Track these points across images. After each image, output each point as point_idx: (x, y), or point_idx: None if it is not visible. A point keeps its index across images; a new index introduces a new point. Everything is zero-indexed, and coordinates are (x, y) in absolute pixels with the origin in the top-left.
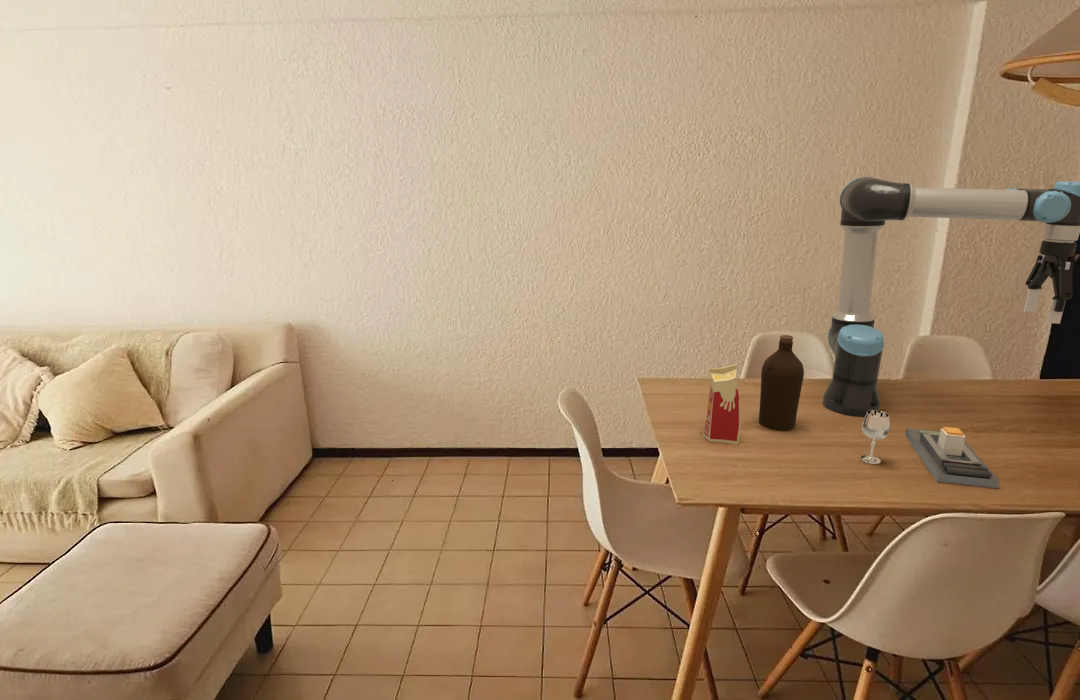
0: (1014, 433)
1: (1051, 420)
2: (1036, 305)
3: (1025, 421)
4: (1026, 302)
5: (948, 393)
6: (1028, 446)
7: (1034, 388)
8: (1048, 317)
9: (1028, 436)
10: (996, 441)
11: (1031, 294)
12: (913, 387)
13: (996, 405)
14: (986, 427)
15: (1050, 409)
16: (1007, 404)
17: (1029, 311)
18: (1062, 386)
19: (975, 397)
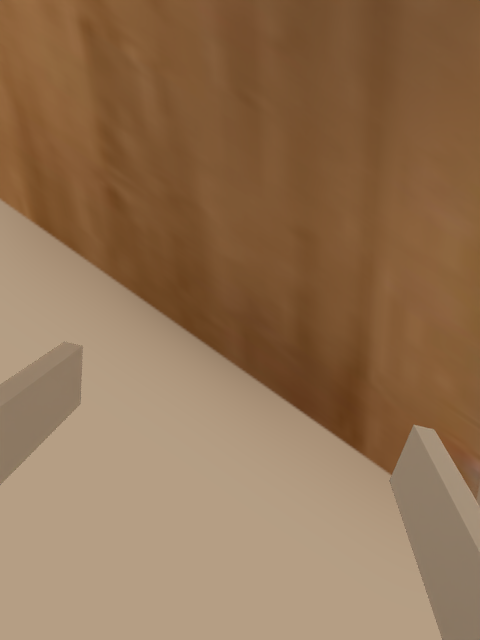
0: (94, 140)
1: (192, 293)
2: (405, 519)
3: (179, 224)
4: (451, 480)
5: (398, 125)
6: (20, 124)
7: (418, 408)
8: (56, 360)
9: (82, 166)
10: (32, 53)
11: (470, 573)
12: (473, 15)
13: (290, 220)
14: (123, 83)
15: (265, 341)
16: (298, 256)
17: (404, 452)
18: None
19: (356, 197)
